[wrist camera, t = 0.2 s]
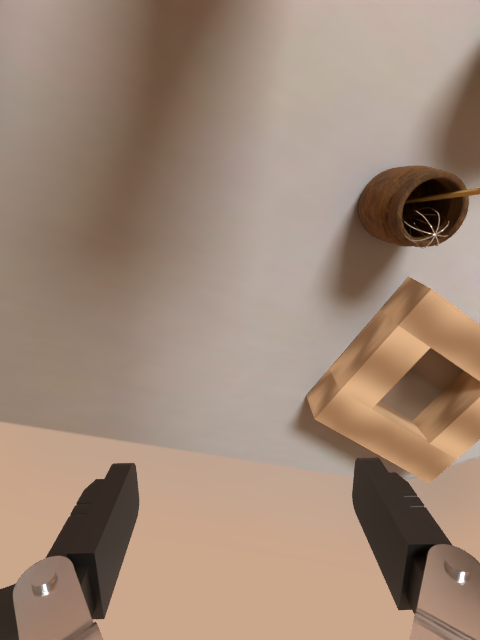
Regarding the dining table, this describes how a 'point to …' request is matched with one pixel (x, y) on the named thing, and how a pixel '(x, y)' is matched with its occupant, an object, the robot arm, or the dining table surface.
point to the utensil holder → (414, 205)
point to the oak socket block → (408, 383)
